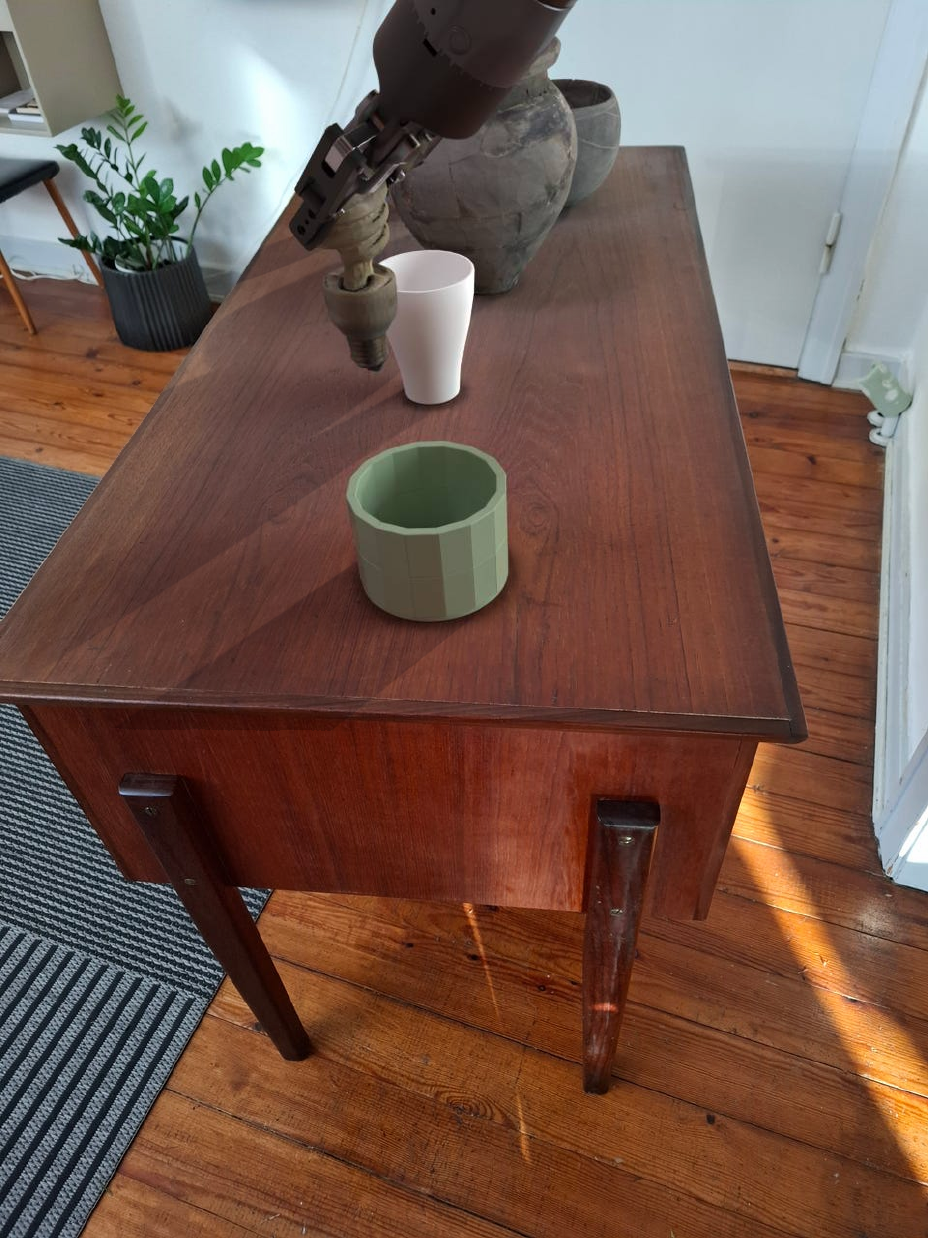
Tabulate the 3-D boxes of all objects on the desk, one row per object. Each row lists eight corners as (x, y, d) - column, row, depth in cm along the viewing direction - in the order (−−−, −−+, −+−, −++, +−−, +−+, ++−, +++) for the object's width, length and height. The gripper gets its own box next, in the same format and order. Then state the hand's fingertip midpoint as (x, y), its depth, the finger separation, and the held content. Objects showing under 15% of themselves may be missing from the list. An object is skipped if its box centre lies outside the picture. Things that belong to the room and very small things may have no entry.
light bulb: (410, 384, 65) (386, 164, 55) (336, 393, 65) (297, 174, 55) (403, 349, 69) (380, 138, 59) (333, 358, 69) (297, 147, 59)
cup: (463, 421, 94) (455, 296, 85) (371, 409, 97) (353, 287, 87) (491, 372, 101) (487, 253, 92) (404, 363, 104) (392, 246, 94)
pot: (387, 639, 71) (373, 552, 65) (345, 548, 80) (329, 463, 73) (532, 595, 74) (531, 508, 68) (476, 512, 82) (471, 427, 76)
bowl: (604, 174, 147) (610, 70, 137) (629, 221, 132) (637, 107, 121) (478, 184, 147) (473, 80, 136) (488, 232, 132) (484, 119, 121)
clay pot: (574, 292, 123) (568, 44, 114) (589, 277, 99) (582, -39, 90) (406, 303, 124) (388, 60, 116) (381, 291, 100) (356, -18, 92)
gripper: (490, -62, 51) (350, 145, 64) (349, -16, 43) (219, 213, 55) (572, 49, 53) (419, 230, 66) (453, 116, 44) (303, 309, 57)
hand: (328, 221), depth 61 cm, fingers closed on light bulb, 5 cm apart
